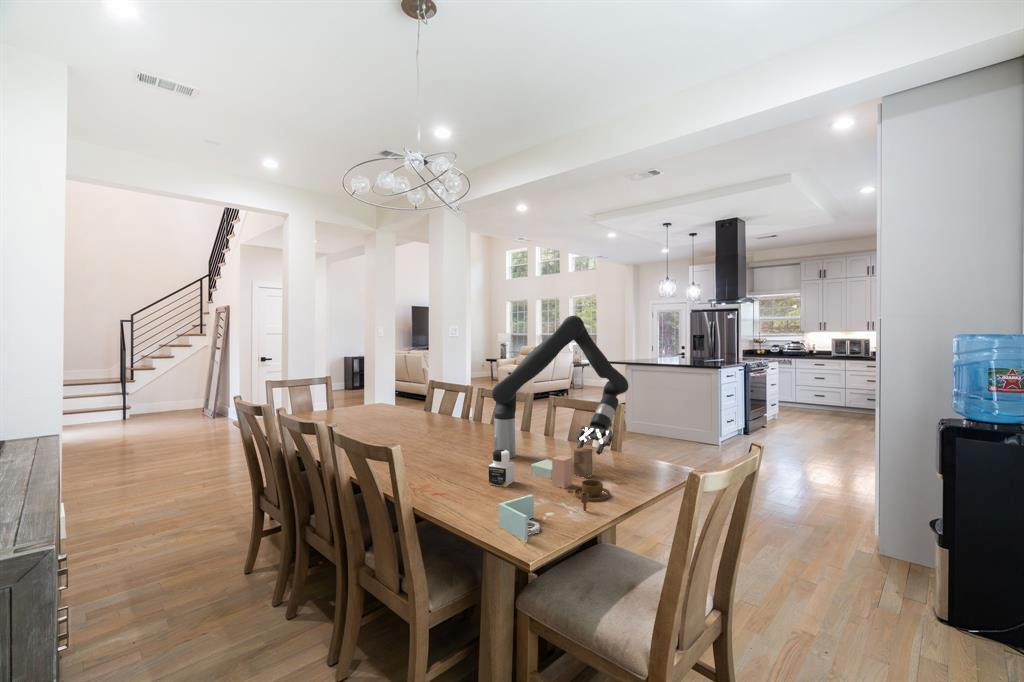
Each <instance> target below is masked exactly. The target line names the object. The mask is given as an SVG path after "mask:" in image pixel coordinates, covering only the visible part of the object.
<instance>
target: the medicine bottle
mask: <svg viewBox="0 0 1024 682" xmlns="http://www.w3.org/2000/svg"><path fill="white" fill-rule="evenodd" d="M510 459H511V458H509V451H507V450H496V451H493V452H492V463H490V464H489V465H488V485H490V486H495V485H496V486H497V487H502V486H503V487H504V488H507V487H508V486H510V485H511V484H512V483H513V482H515V463H514V462H511V461H510ZM509 484H510V485H509ZM496 486H495V487H496Z"/></svg>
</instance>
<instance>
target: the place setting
mask: <svg viewBox="0 0 1024 682" xmlns="http://www.w3.org/2000/svg"><path fill="white" fill-rule="evenodd" d="M575 489H576V490H575V491H574V495H575V497H576V498H577V497H578V498H577V499H579V500H580V502H581V503H582V504H583V507H582V510H583V511H587V504H588V503H589V502H594V501H595V502H602V501H601V500H603V501H606V500H608V499H609V498H610V497H611V492H610V490H609V489H606V488H605V487H603V482H602V481H601V480H596V479H586V480H585V479H584V480H582V482H581V486H580V487H577V488H575ZM569 490H570V489H568V490H567V492H568V493H573V491H569ZM579 491H580V492H581V493H580V492H579ZM602 491H604V492H606V493H607V494H608V495H607V494H606V493H605V494H606V496H603V497H598V496H599V495H601V494H602V493H604V492H602ZM577 492H578V493H580V495H579V494H578V493H577ZM576 493H577V494H576ZM607 498H608V499H607ZM605 499H606V500H605Z"/></svg>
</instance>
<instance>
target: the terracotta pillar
mask: <svg viewBox="0 0 1024 682" xmlns="http://www.w3.org/2000/svg"><path fill="white" fill-rule="evenodd" d="M572 459H573V458H572V457H570V456H565V455H561V454H560V455H557V456H554V457H552V459H551V460H552V479H551V480H552V487H555V486H557V487H556V488H559V487H561V488H560V489H563V488H565V489H566V487H567V488H569V487H571V486H572V485H573V474H572V473H573V469H572V468H573V467H572V466H573V465H572V462H573V460H572ZM570 485H571V486H570ZM568 486H569V487H568Z"/></svg>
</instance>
